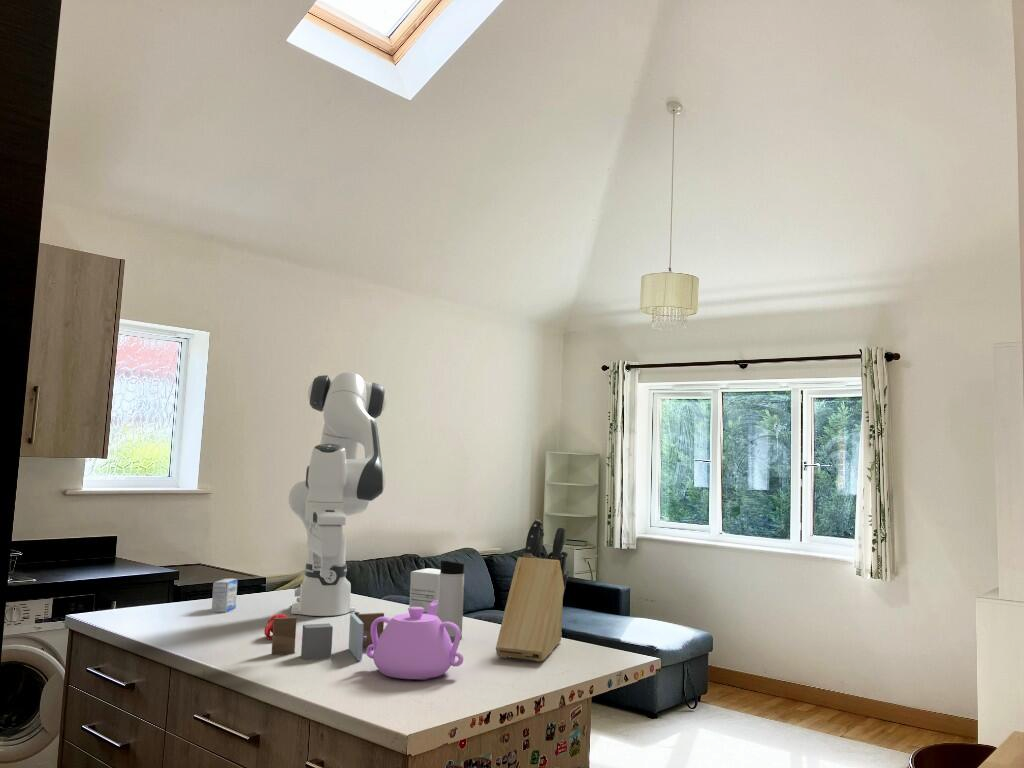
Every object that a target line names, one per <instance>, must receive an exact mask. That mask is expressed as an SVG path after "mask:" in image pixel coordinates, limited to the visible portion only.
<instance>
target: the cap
mask: <svg viewBox="0 0 1024 768" xmlns="http://www.w3.org/2000/svg"><path fill="white" fill-rule="evenodd" d="M284 617H288V616H287V615H286V614H283V613H282V614H281V613H280V614H279V613H278V614H274V615H273V616H271V617H270V618H269V619H268V621H267V625H266V626H265V627H264V629H263V630H264V635H265V637H266V639H267V640H272V638H273V636H271V634H273V621H274V618H284Z"/></svg>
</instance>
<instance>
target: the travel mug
mask: <svg viewBox="0 0 1024 768" xmlns="http://www.w3.org/2000/svg"><path fill="white" fill-rule="evenodd" d="M440 570H441V572H440V591H439V615H438V618H439V619H440V620H441V622H442V623H443V622H452V623H454V624H456V625H457V626H458V627H459V629H460V632H461V637H460V640H462V638H463V619H464V617H463V616H464V611H463V610H464V593H465V591H464V589H465V563H463V562H462V563H459V562H458V561H457V562H456V561H449V560H446V559H445V560H444V559H442V560H440ZM445 629H446V630H447V632H448V634H449V637H450V639H451V642H454V639H455V633H454V630H453V629H452V628H450V627H445Z"/></svg>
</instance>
